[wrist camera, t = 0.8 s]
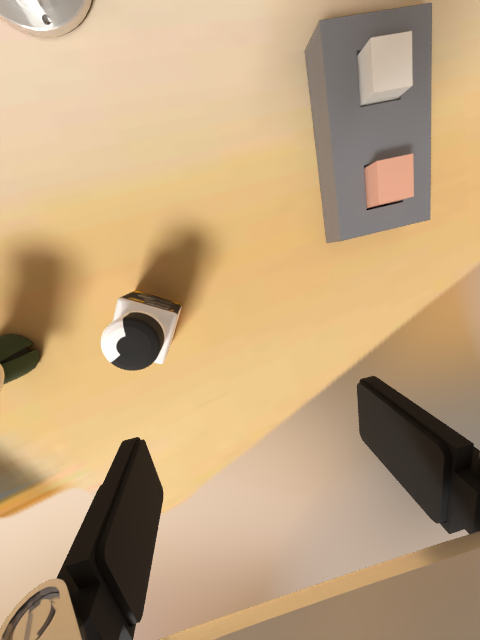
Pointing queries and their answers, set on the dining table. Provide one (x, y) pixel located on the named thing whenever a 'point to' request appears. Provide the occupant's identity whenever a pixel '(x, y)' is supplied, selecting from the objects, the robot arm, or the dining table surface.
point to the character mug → (15, 358)
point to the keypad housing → (368, 121)
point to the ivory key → (385, 68)
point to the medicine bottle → (140, 331)
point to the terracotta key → (389, 180)
